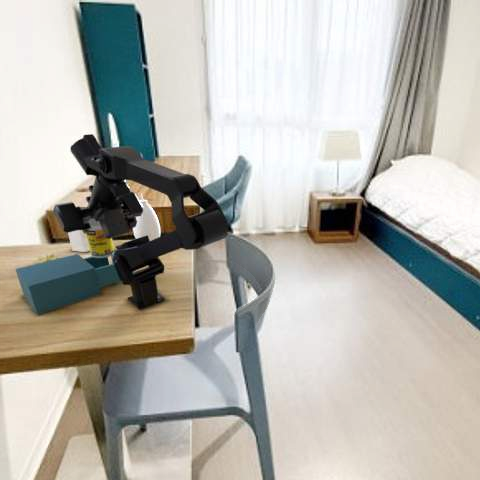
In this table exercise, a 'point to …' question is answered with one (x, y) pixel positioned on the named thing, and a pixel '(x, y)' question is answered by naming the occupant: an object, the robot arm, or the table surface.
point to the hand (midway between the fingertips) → (95, 229)
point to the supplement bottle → (99, 241)
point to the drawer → (104, 270)
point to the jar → (79, 240)
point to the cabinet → (58, 283)
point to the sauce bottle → (147, 222)
